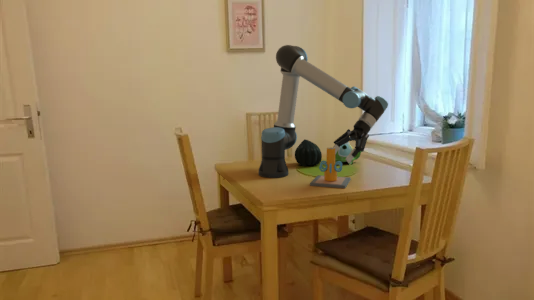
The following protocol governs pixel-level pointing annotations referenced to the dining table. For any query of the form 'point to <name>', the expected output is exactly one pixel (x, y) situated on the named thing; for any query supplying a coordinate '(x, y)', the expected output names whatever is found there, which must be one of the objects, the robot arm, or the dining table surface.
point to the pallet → (331, 182)
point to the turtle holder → (345, 153)
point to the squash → (308, 153)
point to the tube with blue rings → (330, 166)
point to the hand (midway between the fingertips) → (338, 158)
